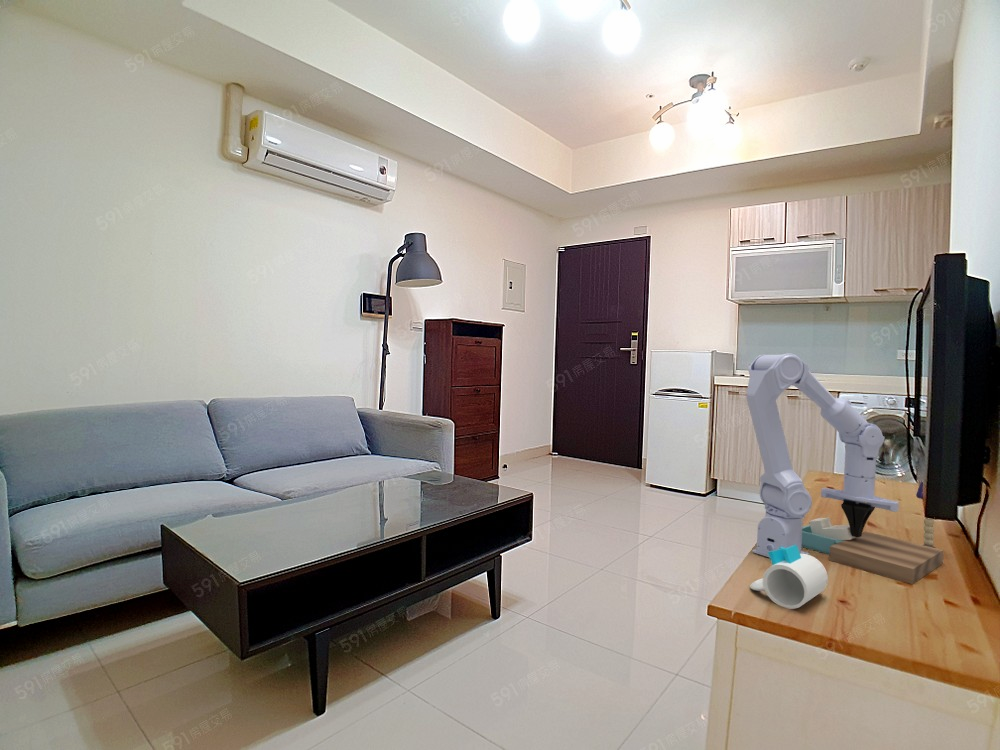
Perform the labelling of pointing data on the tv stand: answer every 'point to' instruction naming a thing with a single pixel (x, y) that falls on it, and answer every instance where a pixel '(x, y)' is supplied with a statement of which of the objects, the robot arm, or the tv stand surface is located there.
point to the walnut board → (887, 556)
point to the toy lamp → (926, 522)
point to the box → (816, 541)
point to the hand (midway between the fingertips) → (856, 536)
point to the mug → (792, 578)
